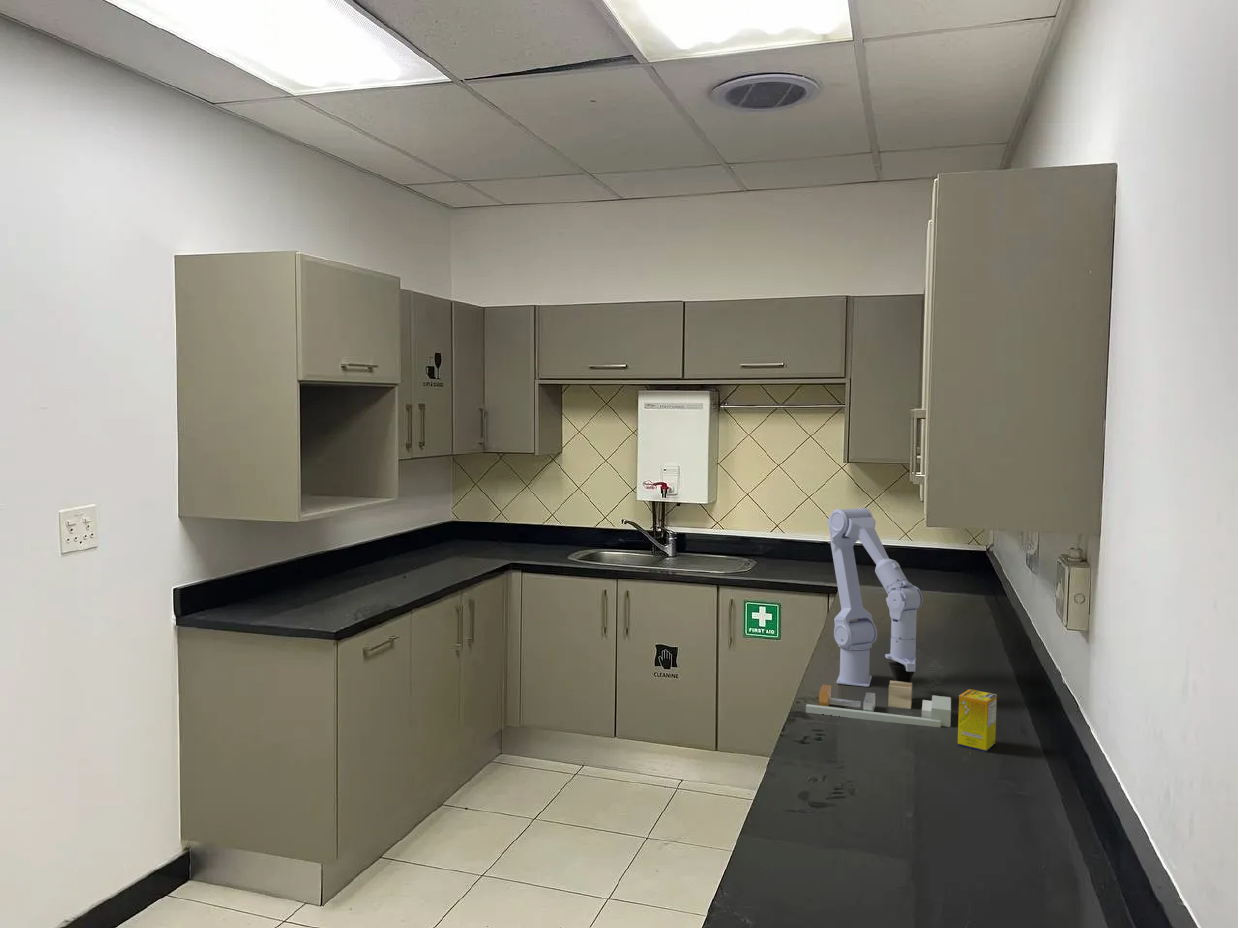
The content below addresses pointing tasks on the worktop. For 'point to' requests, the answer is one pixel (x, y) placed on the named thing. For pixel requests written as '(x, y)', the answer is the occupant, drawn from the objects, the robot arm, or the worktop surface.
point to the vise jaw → (827, 700)
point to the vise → (932, 715)
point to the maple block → (900, 694)
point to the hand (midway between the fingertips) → (901, 693)
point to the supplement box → (977, 720)
